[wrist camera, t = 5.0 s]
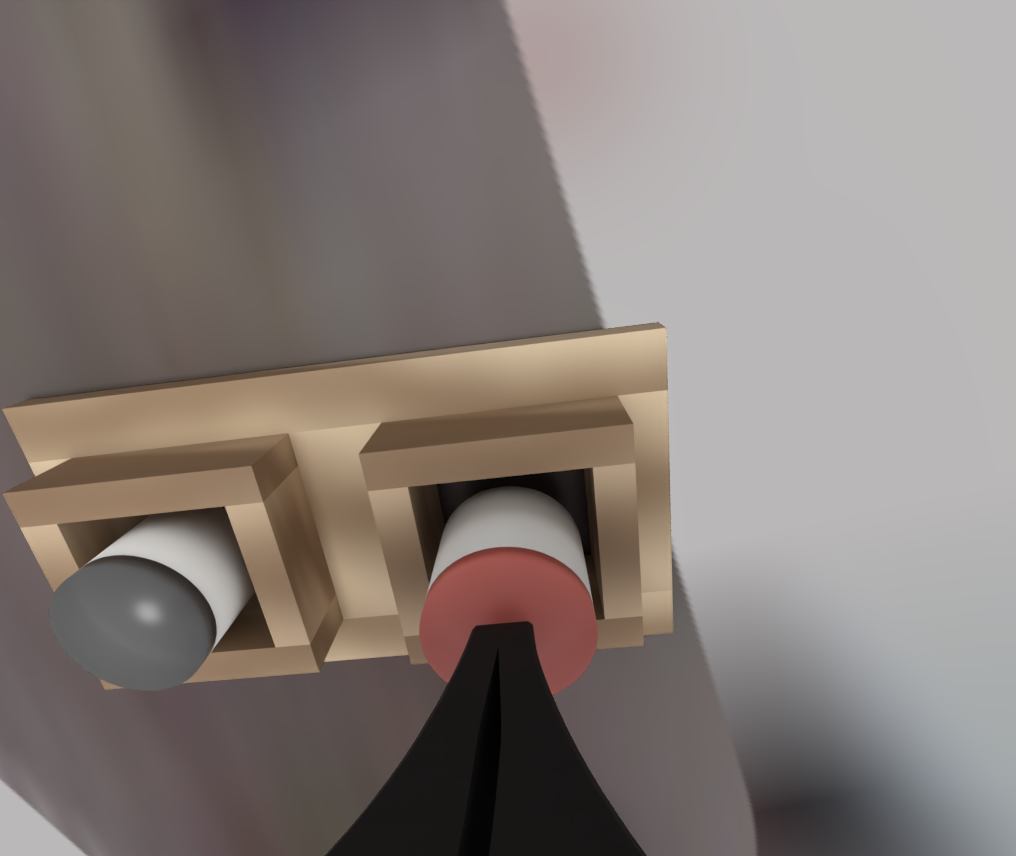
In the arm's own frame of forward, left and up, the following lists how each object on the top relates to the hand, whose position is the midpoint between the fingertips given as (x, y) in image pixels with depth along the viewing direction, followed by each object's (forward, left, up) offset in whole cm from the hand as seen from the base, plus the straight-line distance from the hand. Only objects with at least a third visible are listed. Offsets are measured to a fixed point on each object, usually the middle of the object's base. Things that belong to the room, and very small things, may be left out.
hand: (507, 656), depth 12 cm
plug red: (0, 0, -5) cm, 5 cm away
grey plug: (0, +11, -6) cm, 12 cm away
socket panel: (0, +6, -8) cm, 9 cm away
